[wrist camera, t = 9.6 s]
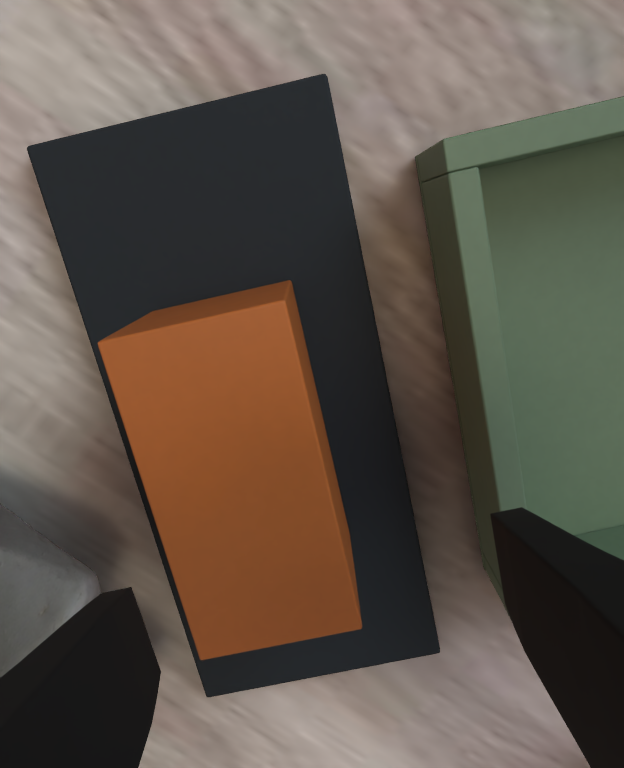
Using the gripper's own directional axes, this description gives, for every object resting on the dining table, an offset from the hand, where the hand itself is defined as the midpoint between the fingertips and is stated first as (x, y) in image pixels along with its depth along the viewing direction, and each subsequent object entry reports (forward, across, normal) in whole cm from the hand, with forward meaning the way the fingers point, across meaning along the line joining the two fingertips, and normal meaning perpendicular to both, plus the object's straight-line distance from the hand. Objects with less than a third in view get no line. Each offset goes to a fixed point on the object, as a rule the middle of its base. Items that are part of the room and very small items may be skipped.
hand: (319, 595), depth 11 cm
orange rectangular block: (+8, +2, -1) cm, 9 cm away
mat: (+9, +2, -1) cm, 9 cm away
